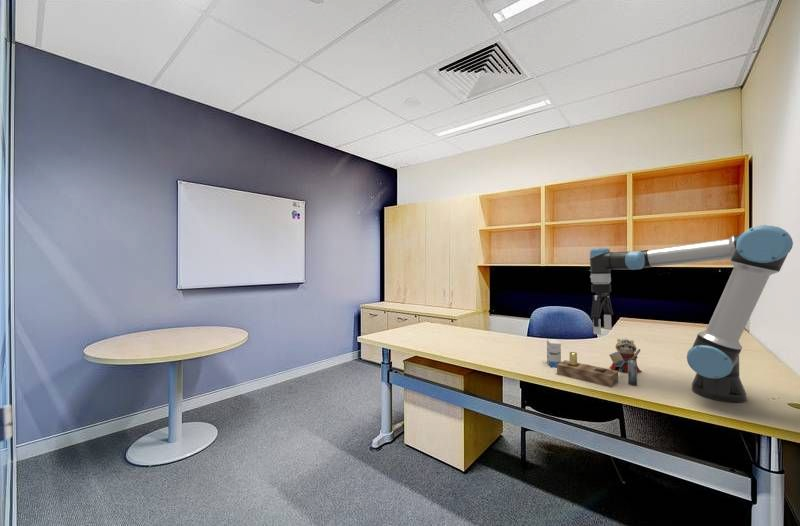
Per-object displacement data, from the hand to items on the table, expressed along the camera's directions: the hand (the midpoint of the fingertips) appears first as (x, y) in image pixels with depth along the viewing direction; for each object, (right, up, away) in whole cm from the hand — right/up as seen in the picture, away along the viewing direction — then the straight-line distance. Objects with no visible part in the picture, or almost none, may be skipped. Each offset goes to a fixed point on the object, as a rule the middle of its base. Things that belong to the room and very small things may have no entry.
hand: (602, 331), depth 146 cm
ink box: (-12, -21, +21) cm, 32 cm away
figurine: (+16, -21, +10) cm, 28 cm away
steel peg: (+8, -21, -7) cm, 23 cm away
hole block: (-6, -21, +2) cm, 22 cm away
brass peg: (-10, -21, +6) cm, 24 cm away
